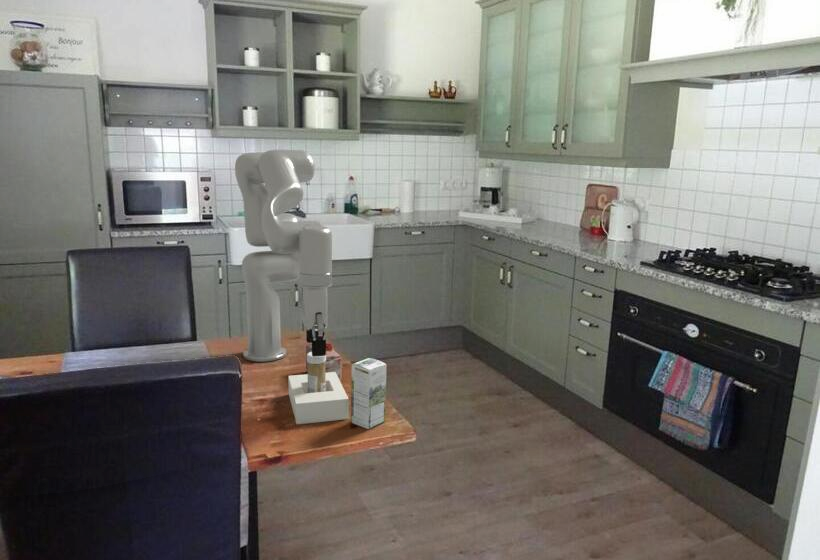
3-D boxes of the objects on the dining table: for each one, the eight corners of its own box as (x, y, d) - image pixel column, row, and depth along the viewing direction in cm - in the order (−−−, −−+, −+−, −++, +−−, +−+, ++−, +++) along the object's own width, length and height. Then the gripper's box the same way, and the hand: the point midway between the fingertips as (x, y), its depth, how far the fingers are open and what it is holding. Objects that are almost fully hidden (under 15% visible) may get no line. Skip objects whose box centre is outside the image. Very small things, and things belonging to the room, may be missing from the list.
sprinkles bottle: (329, 407, 149) (329, 354, 146) (312, 411, 147) (311, 357, 144) (321, 400, 153) (321, 349, 150) (304, 404, 150) (303, 352, 148)
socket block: (288, 394, 156) (288, 375, 155) (335, 390, 160) (335, 371, 159) (296, 424, 139) (296, 403, 138) (348, 418, 143) (348, 398, 142)
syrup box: (367, 415, 145) (367, 356, 142) (386, 422, 141) (386, 362, 138) (350, 422, 141) (350, 362, 138) (369, 430, 137) (369, 369, 134)
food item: (346, 384, 164) (346, 348, 162) (318, 389, 160) (317, 353, 158) (327, 368, 176) (327, 335, 174) (301, 372, 172) (300, 338, 170)
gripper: (295, 271, 150) (296, 338, 154) (303, 288, 134) (304, 362, 138) (325, 270, 152) (325, 336, 156) (338, 287, 136) (337, 360, 140)
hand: (315, 348), depth 147 cm, fingers open, 9 cm apart
